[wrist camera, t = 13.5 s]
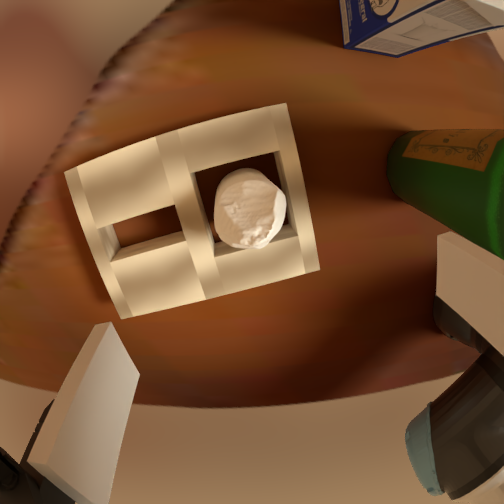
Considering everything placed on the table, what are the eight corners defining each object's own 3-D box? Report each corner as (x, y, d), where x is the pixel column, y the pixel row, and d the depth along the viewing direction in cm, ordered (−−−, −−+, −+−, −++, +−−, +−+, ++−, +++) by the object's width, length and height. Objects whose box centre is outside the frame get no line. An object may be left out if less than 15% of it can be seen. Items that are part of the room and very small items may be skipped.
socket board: (309, 254, 34) (320, 269, 30) (130, 300, 34) (121, 319, 30) (277, 107, 28) (285, 103, 25) (80, 167, 28) (63, 172, 25)
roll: (264, 168, 19) (319, 233, 20) (248, 156, 30) (284, 197, 32) (192, 232, 20) (250, 289, 22) (202, 196, 31) (240, 235, 33)
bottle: (455, 143, 31) (656, 199, 5) (431, 222, 34) (615, 340, 8) (390, 106, 29) (642, 120, 3) (363, 196, 32) (594, 338, 6)
